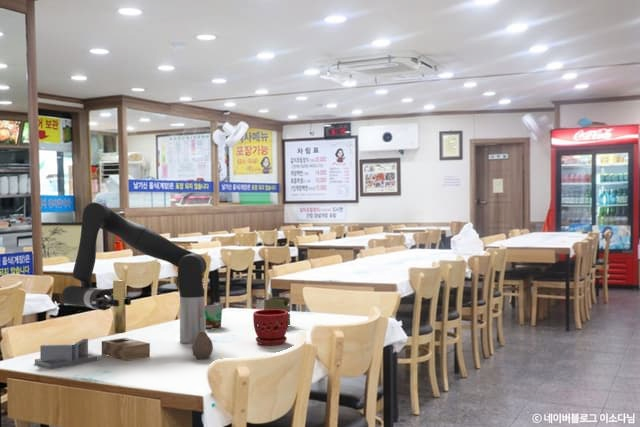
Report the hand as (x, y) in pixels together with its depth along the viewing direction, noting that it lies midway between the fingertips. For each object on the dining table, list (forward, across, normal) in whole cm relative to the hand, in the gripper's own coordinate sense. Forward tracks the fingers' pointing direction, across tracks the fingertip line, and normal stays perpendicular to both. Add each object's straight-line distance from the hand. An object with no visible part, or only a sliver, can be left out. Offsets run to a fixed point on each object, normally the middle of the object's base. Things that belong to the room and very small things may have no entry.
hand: (123, 302), depth 233 cm
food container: (-21, +56, +19) cm, 63 cm away
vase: (+25, +15, +18) cm, 34 cm away
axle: (-3, 0, +10) cm, 11 cm away
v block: (-3, -19, +18) cm, 26 cm away
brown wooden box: (+1, 0, +18) cm, 18 cm away
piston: (-4, +76, +19) cm, 79 cm away
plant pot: (+23, +48, +19) cm, 56 cm away
